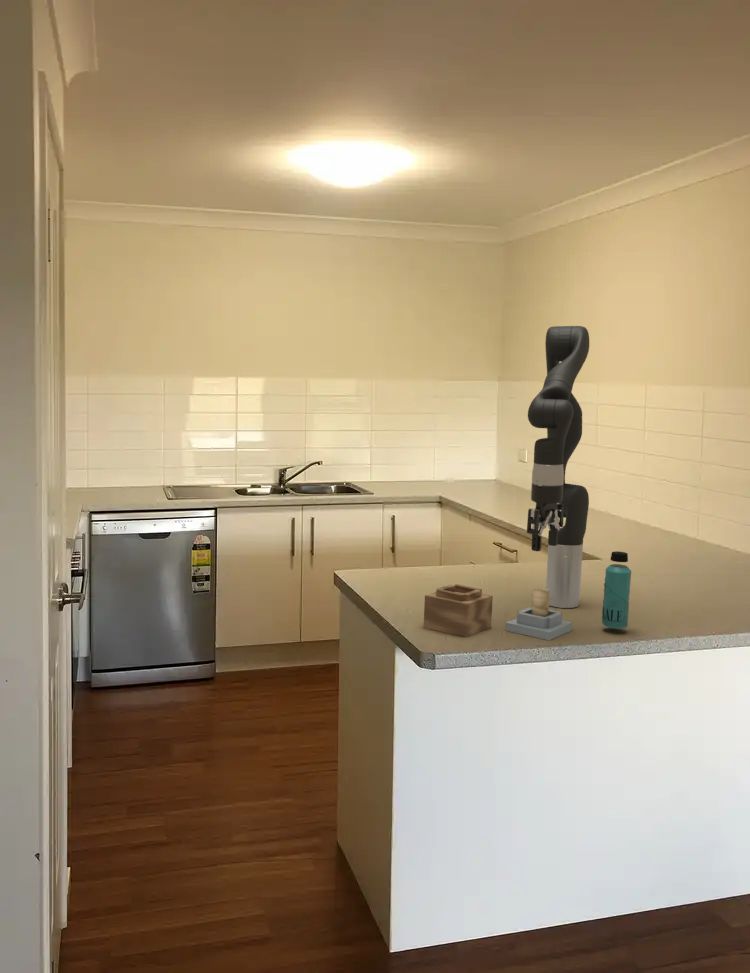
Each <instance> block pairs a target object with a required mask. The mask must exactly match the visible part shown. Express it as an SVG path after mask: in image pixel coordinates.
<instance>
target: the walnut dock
mask: <svg viewBox="0 0 750 973" xmlns="http://www.w3.org/2000/svg"><path fill="white" fill-rule="evenodd" d="M493 598H494V596H493V595H490V594H487V593H483V589H482V588H478V587H472V586H467V585H463V584H457V583H456V584H448V585H444V586H441V587H438V588H436V591H435V592H433V593H429V594H425V595H424V609H423V628H424V629H429V630H434V631H437V632H441V633H446V634H449V635H450V634H451V635H454V636H458V637H462V638H466V637H467V638H468V637H469V636H471V635H474V634H477V633H480V632H483V631H486V630H488V629H491V628H492V617H493V616H492V615H493Z"/></svg>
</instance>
